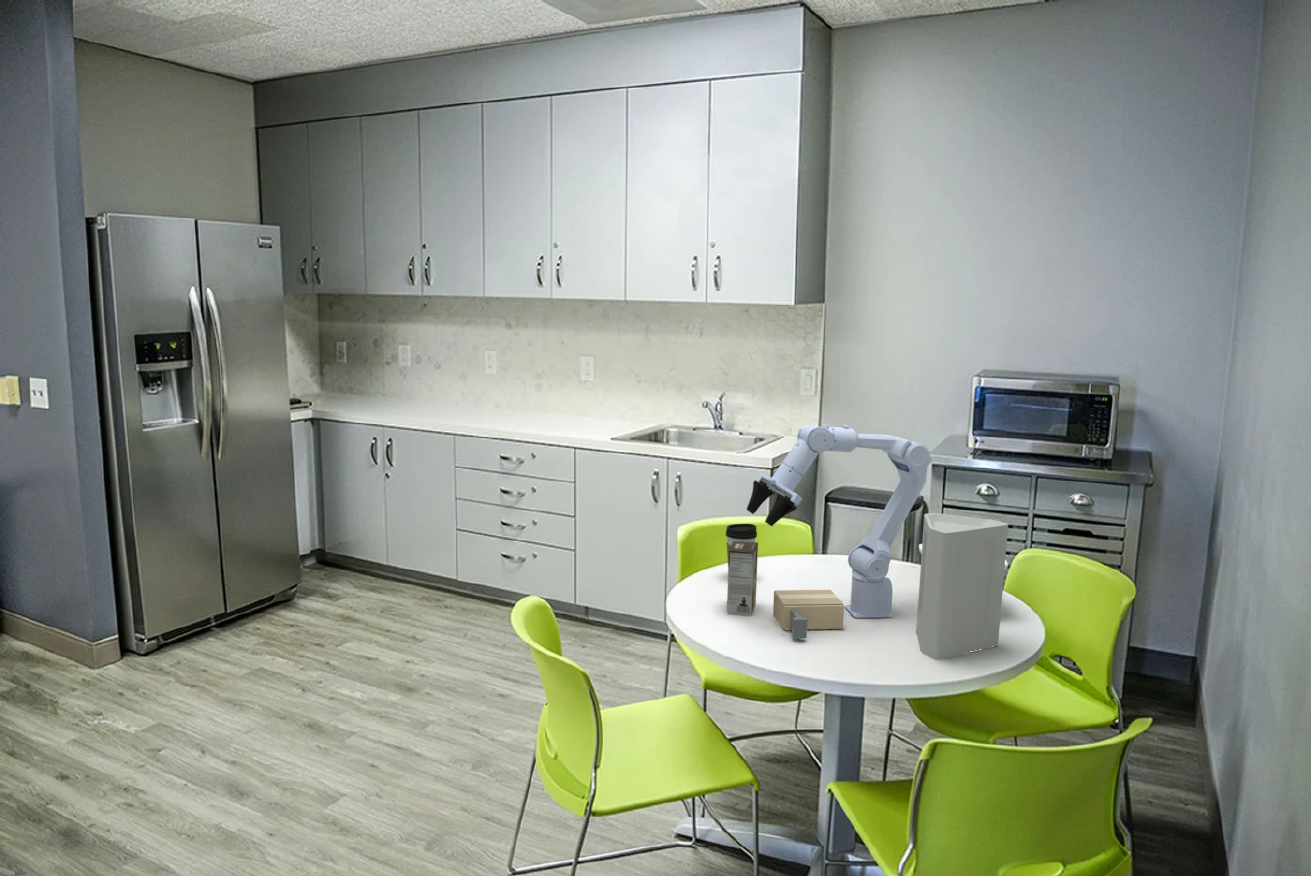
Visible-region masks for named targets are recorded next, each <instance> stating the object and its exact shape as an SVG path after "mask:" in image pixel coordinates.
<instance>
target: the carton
mask: <svg viewBox="0 0 1311 876" xmlns="http://www.w3.org/2000/svg"><path fill="white" fill-rule="evenodd" d="M772 604H773V605H772V606H773V607H772V609H773V610H772V615H773V616H774V618H775V619H776V621H777V622H778V625H780V627H781V629H782V630H784V629H783V624H784V606H811V605H844V603H843V602H842V601H841V600H840V598H839V597H838V596H837V595H836V594H835V593H834V592H833V590H832V589H790V590H789V589H782V590H781V589H780V590H776V589H775V590H774V591H773V603H772Z"/></svg>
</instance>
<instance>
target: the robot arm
mask: <svg viewBox="0 0 1311 876" xmlns="http://www.w3.org/2000/svg"><path fill="white" fill-rule="evenodd" d="M796 436H797V439H796V442H795V443H794V445H793V446H792V447H791V449H790V451H789V452H788V454H787V455H786V456H785V458H784V459H783V461H782V462H781V463H780V465H779V466H778V468H777V470H776V471H775V472H774V473H773V475H772V476H768V475H766V474H763V473H762V472H761V473H760V474H759V476H758V477H757V479H755V480H754V481H753V482H752V485H753V486H752V492H751V496H750V498H749V501H748V505H747V506H746V510H747V511H748V512H749V513H750V514H752V515H754V514H755V513H756V512H757V511H758V510H759V508H760V507H761V506H762V504H763V503H764V502H765V501H766V500H767V499H768V498H770V497H771V496H773V495H774V494H775V492H776V493H777V494H776V499H775V501H774V503H773V506H772V508H771V510H770V511H769V513H768V514H767V516H766V518H765V520H764V523H766V525H768V526H770V527H773V526H774V525H775V524H776V523H778V522H779V521H780V520H781V519H782V518H783V517H785V516H786V515H788V514H791V513H792V512H794V511H796V510H797V506H799V504H800V503H801V501H802V500H803V497H801V496H800V495H799V494H797V493H795V492H794V489H796V487H797V486H798V484H799V482H801V480H802V478H803V477H804V475H805V474H806V472H807V471H808V469H809V468H810V467H811V465H812V463H814V460H815V459H816V458H817V456H818V455H819V453H824V452H837V453H838V452H841V453H842V452H843V453H851V452H853V451H854V450H855V449H856V448H860V449H861V448H862V449H870V450H871V449H872V450H882V452H883V453H886V455H887V457H888V458H889V460H890V462H891V463H892V464H893V466H894V468H896V470H897V473H898V475H899V479H900V480H899V482H898V483H897V486H896V488H895V490H894V491H893V493H892V494H891V497H890V498H889V500H888V502H887V503H886V505H885V507H884V509H883V511H882V513H881V514H880V516H879V518H878V520H877V522H876V524H875V525H874V527H873V529H872V531H871V532H870V534H869V535H868V536H866V537H864V538H862V539H861V540H860V541H859V543H858V544H857V546H856V547H854V548H853V549H852V550H850V552H849V554H848V557H847V563H848V565H849V567H850V568H851V570H852V572H851V573H852V575H851V588H850V589H851V593H850V604H845V605H844V609H846V610H847V611H848V612H849V614H850V615H852V617H853V618H855V619H865V618H866V619H868V618H871V619H873V618H876V619H877V618H893V615H892V607H893V606H892V605H893V593H894V592H893V584H892V581H891V579H890V578H889V577H888V576H887V574H888V572H889V568H890V563H891V561H892V559H893V554H892V549H891V546H892V544H893V542H894V540H895V539H896V537H897V535H898V533H899V532H900V530H901V527H902V526H903V524H904V523H905V521H906V519H907V517H908V515H909V514H910V512H911V510H912V509H913V506H914V504H915V502H916V501H917V499H918V498H919V495H920V494H921V492H922V490H923V489H924V486H925V484H926V482H927V473H928V467H929V465H930V463H931V462H932V456H931V454H930V451H929V449H928V447H927V445H926V444H924V443H923V442H917V441H913V440H909V439H907V438H905V437H902V436H895V435H891V434H886V433H885V434H878V433H857V432H856V431H855V429H854V428H852V427H850V426H849V425H846V424H842V425H841V427H840V426H830V424H822V426H819V425H816V424H813V423H812V424H806V425H805V426H803V427H802V428H799V429H798V432H797V435H796ZM795 505H796V506H795Z"/></svg>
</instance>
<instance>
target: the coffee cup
mask: <svg viewBox="0 0 1311 876" xmlns="http://www.w3.org/2000/svg"><path fill="white" fill-rule="evenodd" d="M757 531H758V530H757V525H755V524H753V523H735V524H733V523H732V524H729V525H727V526H726V530H725V536H726V553H727V556H726V557H727V562H728V561H729V549H730V547H731V545H732V543H733V541H742V542H756V538H757V537H758V533H757Z"/></svg>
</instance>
